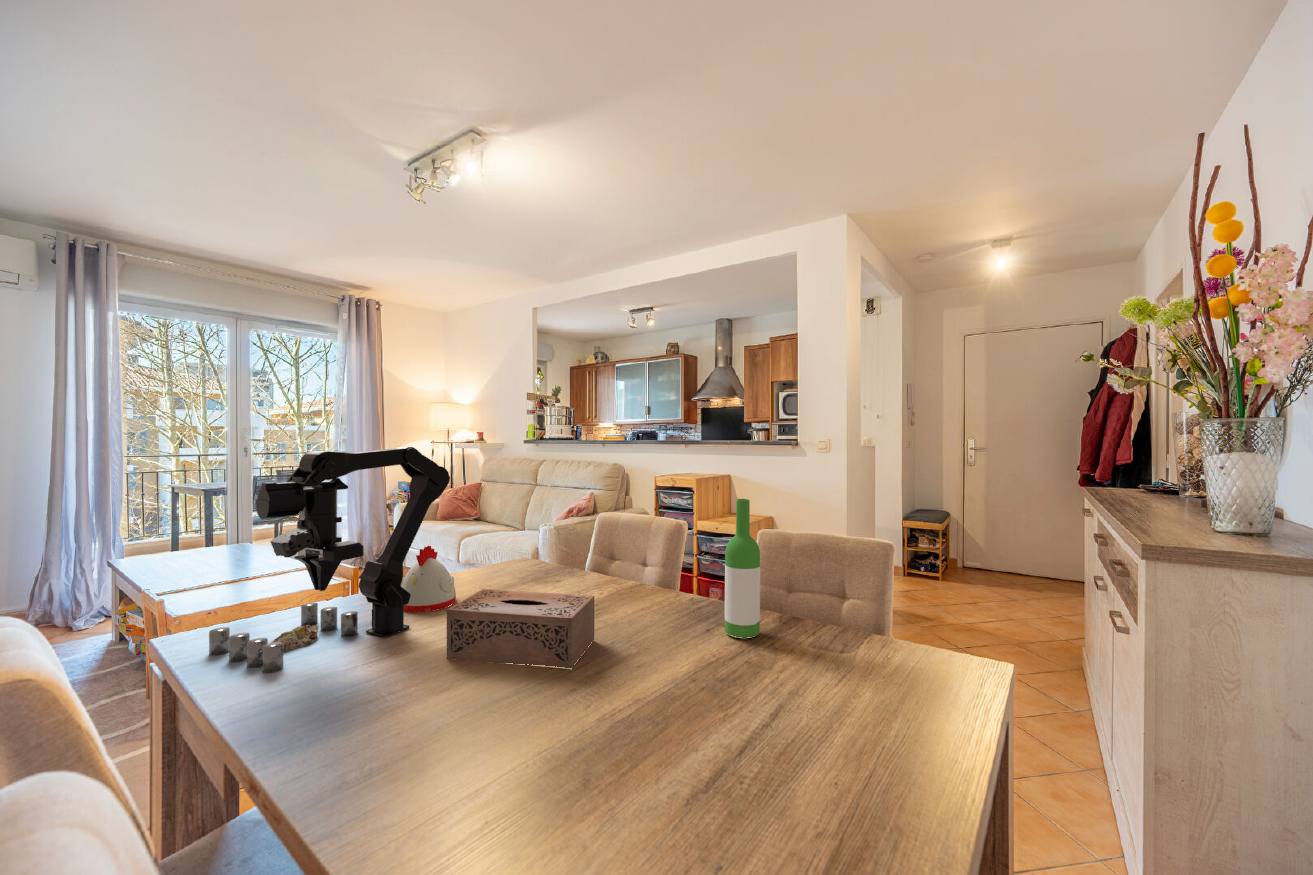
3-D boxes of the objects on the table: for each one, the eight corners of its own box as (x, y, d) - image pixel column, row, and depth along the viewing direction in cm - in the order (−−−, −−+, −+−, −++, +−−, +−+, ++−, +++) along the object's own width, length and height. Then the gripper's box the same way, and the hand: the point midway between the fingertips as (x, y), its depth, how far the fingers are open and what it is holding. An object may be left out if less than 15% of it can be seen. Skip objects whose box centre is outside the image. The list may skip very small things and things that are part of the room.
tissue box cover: (446, 660, 107) (446, 609, 107) (483, 633, 121) (483, 588, 121) (571, 671, 102) (571, 618, 102) (594, 642, 116) (594, 595, 116)
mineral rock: (296, 623, 120) (324, 616, 118) (300, 642, 120) (329, 636, 118) (249, 643, 109) (280, 636, 108) (254, 664, 109) (285, 658, 107)
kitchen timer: (385, 610, 135) (385, 550, 135) (418, 594, 149) (418, 540, 149) (437, 614, 133) (437, 553, 133) (465, 597, 147) (465, 542, 147)
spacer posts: (373, 635, 119) (373, 615, 118) (268, 674, 99) (268, 649, 99) (312, 620, 128) (312, 601, 128) (205, 653, 108) (205, 631, 108)
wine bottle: (765, 632, 122) (766, 498, 121) (751, 643, 115) (752, 502, 115) (733, 625, 126) (734, 496, 126) (718, 636, 119) (719, 500, 119)
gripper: (249, 515, 106) (249, 594, 106) (309, 522, 98) (309, 608, 98) (307, 508, 116) (306, 580, 116) (365, 514, 108) (365, 592, 108)
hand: (320, 590), depth 110 cm, fingers closed
